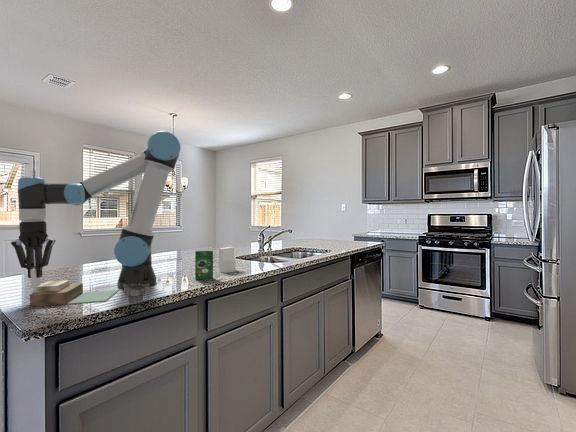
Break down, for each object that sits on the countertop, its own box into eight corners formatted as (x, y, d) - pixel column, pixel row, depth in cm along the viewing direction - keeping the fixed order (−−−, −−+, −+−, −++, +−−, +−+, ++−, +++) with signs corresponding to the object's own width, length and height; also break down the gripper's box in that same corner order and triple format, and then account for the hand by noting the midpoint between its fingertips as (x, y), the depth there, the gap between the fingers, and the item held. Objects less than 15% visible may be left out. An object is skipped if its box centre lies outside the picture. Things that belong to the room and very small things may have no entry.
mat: (118, 290, 127) (118, 289, 127) (106, 301, 112) (106, 300, 112) (85, 292, 125) (85, 291, 125) (67, 304, 109) (67, 303, 109)
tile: (69, 285, 120) (69, 280, 120) (58, 291, 111) (58, 285, 111) (48, 286, 118) (48, 281, 118) (35, 292, 110) (35, 286, 110)
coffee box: (213, 277, 149) (212, 249, 149) (213, 278, 147) (213, 250, 146) (195, 279, 147) (194, 250, 147) (195, 280, 144) (194, 251, 144)
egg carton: (151, 294, 122) (151, 283, 122) (130, 298, 117) (130, 287, 117) (142, 289, 130) (142, 279, 130) (122, 292, 125) (122, 282, 125)
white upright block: (227, 273, 160) (226, 249, 159) (214, 271, 164) (213, 248, 164) (239, 270, 167) (238, 247, 167) (226, 268, 172) (225, 246, 172)
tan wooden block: (83, 293, 123) (82, 283, 123) (67, 303, 110) (66, 292, 110) (50, 295, 121) (50, 285, 121) (30, 306, 107) (29, 294, 107)
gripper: (58, 220, 118) (61, 283, 119) (17, 221, 115) (20, 285, 116) (48, 220, 111) (51, 287, 111) (4, 221, 108) (7, 290, 108)
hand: (35, 286), depth 114 cm, fingers closed
